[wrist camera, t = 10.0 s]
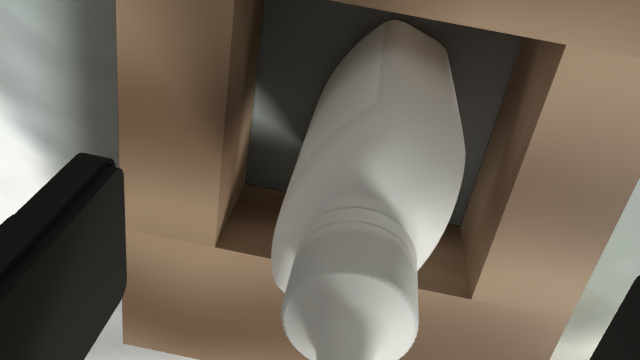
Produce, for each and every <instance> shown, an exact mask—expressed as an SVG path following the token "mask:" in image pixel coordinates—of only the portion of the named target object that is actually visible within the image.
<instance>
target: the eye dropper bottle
mask: <svg viewBox="0 0 640 360" xmlns="http://www.w3.org/2000/svg"><path fill="white" fill-rule="evenodd" d="M465 156H466V150H465V144H464V137H463V130H462V125H461V119H460V114H459V109H458V104H457V98H456V93H455V88H454V83H453V78H452V74H451V69H450V64H449V59H448V55H447V51H446V49H445V48H444V47H443V46H442V45H441V44H440V43H439V42H437V41H436V40H434V39H433V38H431V37H429V36H428V35H426V34H424V33H423V32H421V31H419V30H418V29H416V28H414V27H412V26H411V25H409V24H407V23H405V22H402V21H398V20H391V21H388V22H385V23H383V24H381V25H380V26H378V27H377V28H375V29H374V30H373V31H371V32H370V33H369V34H367V35H366V36H365V37H364V38H363V39H362V40H360V41H359V42H358V43H357V44H356V45H355V46H354V47H353V48H352V49H351V50H350V51H349V52H348V53H347V55H346V56H345V57H344V58H343V59H342V61H341V62H340V63H339V64H338V66H337V67H336V69H335V70H334V72H333V73H332V75H331V76H330V78H329V80H328V81H327V83H326V85H325V87H324V89H323V91H322V93H321V96H320V98H319V100H318V103H317V105H316V108H315V111H314V114H313V117H312V120H311V122H310V125H309V128H308V131H307V134H306V137H305V140H304V142H303V145H302V148H301V151H300V154H299V157H298V160H297V163H296V165H295V168H294V171H293V174H292V177H291V180H290V183H289V186H288V189H287V192H286V195H285V198H284V200H283V203H282V206H281V209H280V213H279V216H278V219H277V223H276V227H275V231H274V236H273V242H272V250H271V268H272V275H273V278H274V280H275V283H276V285H277V286H278V287H279V288H280V289H281V290H282V291H283V292H284V293H285V295H284V298H283V302H282V306H281V309H282V310H281V320H282V326H283V327H284V329H283V330H284V331H285V333H286V336H287V337H288V338H289V341H290V342H291V343H292V345H293V346H294V347H295V348H296V349H297V350H298V351H299V352H300V353H301V354H302V355H304V356H305V357H306V358H308V359H309V360H399V359H400V358H401V357H402V356H404V355H405V353H406V352H408V351H409V348H411V347H412V344H413V343H414V342H415V338H416V337H417V332H418V326H419V315H418V278H417V271H418V270H419V269H420V268H421V266H422V265H423V264H424V263H425V261H426V260H427V259H428V257H429V256H430V255H431V253H432V252H433V250H434V248H435V247H436V245H437V244H438V242H439V240H440V238H441V236H442V235H443V233H444V231H445V229H446V227H447V224H448V222H449V220H450V218H451V215H452V212H453V210H454V207H455V204H456V201H457V198H458V194H459V191H460V187H461V183H462V179H463V174H464V167H465Z"/></svg>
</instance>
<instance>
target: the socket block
mask: <svg viewBox="0 0 640 360" xmlns="http://www.w3.org/2000/svg"><path fill="white" fill-rule="evenodd" d="M331 1H336V2H341V3H347V4H352V5H357V6H363V7H368V8H373V9H378V10H384V11H389V12H394V13H400V14H405V15H410V16H416V17H421V18H426V19H432V20H437V21H442V22H448V23H453V24H458V25H464V26H469V27H474V28H480V29H485V30H490V31H496V32H501V33H506V34H512V35H517V36H522V37H524V38H523V41H522V44H521V47H520V50H519V53H518V56H517V59H516V62H515V65H514V68H513V71H512V74H511V77H510V80H509V83H508V86H507V89H506V92H505V95H504V98H503V101H502V104H501V107H500V110H499V113H498V116H497V119H496V122H495V125H494V128H493V131H492V134H491V137H490V140H489V143H488V146H487V149H486V152H485V155H484V158H483V161H482V164H481V167H480V170H479V173H478V176H477V178H476V181H475V184H474V187H473V190H472V193H471V196H470V199H469V202H468V205H467V208H466V211H465V214H464V217H463V220H462V223H461V226H460V227H459V226H454V225H449V224H447V227H446V229H445V231H444V233H443V235H442V236H441V238H440V240H439V242H438V244H437V245H436V247H435V248H434V250H433V252H432V253H431V255H430V256H429V257H428V259H427V260H426V261H425V263H424V264H423V265H422V266H421V268H420V269H419V270H418V271H417V278H418V315H419V326H418V332H417V337H416V338H415V342H414V343H413V344H412V347H411V348H409V351H408V352H406V353H405V355H404V356H402V357H401V358H400V359H399V360H549V359H550V357H551V355H552V353H553V351H554V349H555V347H556V345H557V343H558V341H559V339H560V337H561V335H562V333H563V331H564V329H565V327H566V325H567V323H568V321H569V319H570V317H571V315H572V313H573V311H574V309H575V307H576V305H577V303H578V301H579V299H580V297H581V295H582V293H583V291H584V289H585V287H586V285H587V283H588V281H589V279H590V277H591V275H592V273H593V271H594V269H595V267H596V265H597V263H598V261H599V259H600V257H601V255H602V253H603V251H604V249H605V247H606V244H607V242H608V240H609V238H610V236H611V234H612V232H613V230H614V228H615V226H616V224H617V222H618V220H619V218H620V216H621V214H622V212H623V210H624V208H625V206H626V204H627V202H628V200H629V198H630V196H631V194H632V192H633V190H634V188H635V186H636V184H637V182H638V180H639V178H640V0H331ZM263 10H264V0H116V36H117V83H118V130H119V168H120V169H122V170H123V173H124V194H125V228H126V262H127V284H126V289H125V292H124V295H123V297H122V317H123V344H128V345H133V346H138V347H142V348H147V349H152V350H157V351H161V352H166V353H171V354H176V355H181V356H185V357H190V358H195V359H200V360H309V359H308V358H306V357H305V356H304V355H302V354H301V353H300V352H299V351H298V350H297V349H296V348H295V347H294V346H293V345H292V343H291V342H290V341H289V338H288V337H287V336H286V333H285V331H284V330H283V329H284V327H283V326H282V320H281V310H282V309H281V306H282V302H283V298H284V295H285V293H284V292H283V291H282V290H281V289H280V288H279V287H278V286H277V285H276V283H275V280H274V278H273V275H272V268H271V250H272V242H273V236H274V231H275V227H276V223H277V219H278V216H279V213H280V209H281V206H282V203H283V200H284V198H285V195H286V192H283V191H278V190H273V189H268V188H263V187H258V186H253V185H248V184H245V182H246V173H247V163H248V153H249V144H250V134H251V125H252V115H253V106H254V96H255V86H256V77H257V67H258V58H259V48H260V38H261V29H262V19H263Z"/></svg>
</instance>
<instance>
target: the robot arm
mask: <svg viewBox="0 0 640 360" xmlns="http://www.w3.org/2000/svg"><path fill="white" fill-rule="evenodd" d="M126 284H127V262H126V228H125V194H124V173H123V170H122V169H120V168H116V166H115V163H114V160H112V159H111V158H106V157H101V156H96V155H91V154H86V153H79V154H77V155H76V156H75V157H74V158H73V159H72V160H71V161H70V162H69V163H67V164H66V165H65V166H64V167H63V168H62V169H61V170H60V171H59V172H58V173H57V174H56V175H55V176H54V177H53V178H52V179H51V180H50V181H49V182H48V183H47V184H46V185H45V186H43V187H42V188H41V189H40V190H39V191H38V192H37V193H36V194H35V195H34V196H33V197H32V198H31V199H30V200H29V201H28V202H27V203H26V204H25V205H24V206H23V207H22V208H20V209H19V210H18V211H17V212H16V213H15V214H13V215H12V216H10V217H9V218H8V219H6V220H5V221H4V222H3V223H2V224H1V225H0V360H84V359H85V357H86V356H87V354H88V352H89V351H90V349H91V348H92V346H93V344H94V343H95V341H96V340H97V338H98V336H99V335H100V333H101V332H102V330H103V328H104V327H105V325H106V323H107V322H108V320H109V319H110V317H111V315H112V314H113V312H114V311H115V309H116V307H117V306H118V304H119V303H120V301H121V299H122V297H123V295H124V292H125V289H126ZM590 360H640V275H639V276H638V277H637V278H636V279H635V281H634V283H633V284H632V286H631V288H630V290H629V291H628V293H627V295H626V297H625V298H624V300H623V302H622V304H621V305H620V307H619V309H618V311H617V312H616V314H615V316H614V318H613V319H612V321H611V323H610V325H609V327H608V328H607V330H606V332H605V334H604V335H603V337H602V339H601V341H600V342H599V344H598V346H597V348H596V349H595V351H594V353H593V355H592V356H591V358H590Z"/></svg>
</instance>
